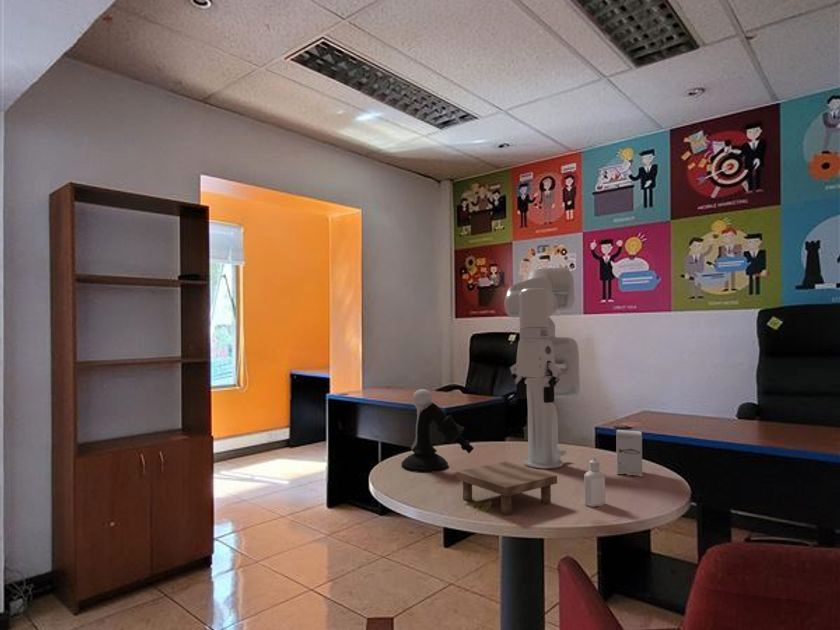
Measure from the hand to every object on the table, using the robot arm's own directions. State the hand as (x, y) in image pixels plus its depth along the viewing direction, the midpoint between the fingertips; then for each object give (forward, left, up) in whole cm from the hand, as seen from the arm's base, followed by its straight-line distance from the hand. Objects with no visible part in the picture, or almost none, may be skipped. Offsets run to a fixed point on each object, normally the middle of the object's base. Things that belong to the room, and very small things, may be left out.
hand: (534, 400), depth 135 cm
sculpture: (+1, -41, -26) cm, 49 cm away
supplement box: (-42, 0, -26) cm, 50 cm away
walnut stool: (+8, -3, -25) cm, 27 cm away
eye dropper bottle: (-8, +12, -26) cm, 29 cm away
